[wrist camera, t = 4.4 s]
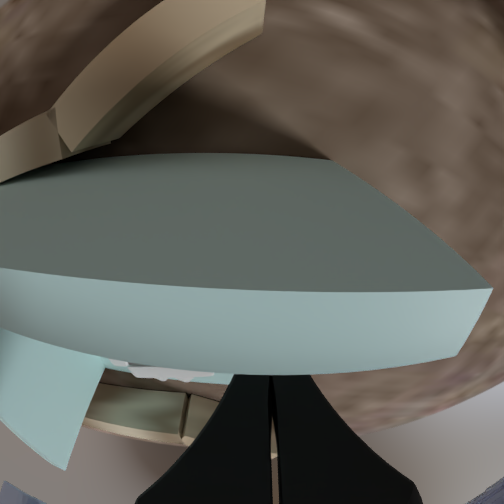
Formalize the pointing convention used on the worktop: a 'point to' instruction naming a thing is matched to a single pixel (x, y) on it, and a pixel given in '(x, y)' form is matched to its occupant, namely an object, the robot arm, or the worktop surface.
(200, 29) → the pocket
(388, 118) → the worktop surface
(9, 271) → the l-shaped corner panel
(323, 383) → the worktop surface
